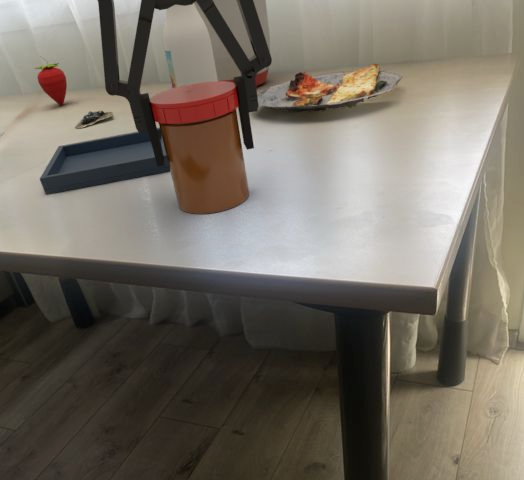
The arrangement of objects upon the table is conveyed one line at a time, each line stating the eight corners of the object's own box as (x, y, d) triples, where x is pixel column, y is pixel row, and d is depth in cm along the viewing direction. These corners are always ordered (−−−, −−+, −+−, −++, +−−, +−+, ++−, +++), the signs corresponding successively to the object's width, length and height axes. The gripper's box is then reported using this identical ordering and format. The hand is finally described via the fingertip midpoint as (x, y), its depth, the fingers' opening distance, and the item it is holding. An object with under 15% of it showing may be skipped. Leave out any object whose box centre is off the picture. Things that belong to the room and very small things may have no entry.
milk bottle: (230, 109, 93) (208, -30, 81) (209, 122, 88) (182, -24, 76) (193, 110, 97) (167, -23, 85) (171, 123, 91) (139, -17, 79)
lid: (235, 116, 50) (232, 95, 49) (145, 128, 51) (139, 108, 50) (242, 95, 57) (239, 77, 56) (162, 106, 58) (158, 88, 57)
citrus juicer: (197, 85, 116) (176, -26, 104) (276, 73, 114) (264, -41, 102) (187, 101, 103) (161, -23, 92) (275, 89, 101) (260, -40, 90)
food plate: (286, 87, 102) (284, 66, 99) (411, 78, 93) (411, 56, 91) (234, 125, 84) (230, 102, 82) (382, 119, 75) (382, 92, 73)
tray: (45, 194, 69) (39, 178, 68) (63, 160, 82) (58, 146, 80) (171, 170, 70) (167, 154, 69) (169, 140, 82) (166, 126, 81)
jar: (179, 219, 56) (154, 114, 50) (177, 193, 62) (155, 97, 56) (253, 205, 56) (237, 99, 50) (244, 181, 63) (229, 84, 56)
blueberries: (121, 116, 101) (118, 105, 100) (90, 129, 96) (86, 118, 95) (97, 115, 105) (94, 105, 103) (66, 128, 100) (62, 117, 98)
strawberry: (47, 111, 116) (28, 60, 110) (48, 105, 122) (31, 56, 116) (74, 105, 117) (57, 54, 111) (74, 99, 123) (58, 51, 117)
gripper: (5, -113, 39) (101, 184, 53) (287, -159, 40) (311, 144, 54) (25, -102, 45) (107, 162, 59) (270, -142, 46) (296, 126, 60)
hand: (204, 153), depth 56 cm, fingers closed on lid, 9 cm apart
